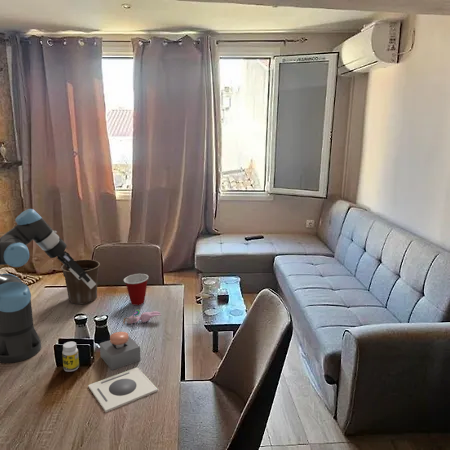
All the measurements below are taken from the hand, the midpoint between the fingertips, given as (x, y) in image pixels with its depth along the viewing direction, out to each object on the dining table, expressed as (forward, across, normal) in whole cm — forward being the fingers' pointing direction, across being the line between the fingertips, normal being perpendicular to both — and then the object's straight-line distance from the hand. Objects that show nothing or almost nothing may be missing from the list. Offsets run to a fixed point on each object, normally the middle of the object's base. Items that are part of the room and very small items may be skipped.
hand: (87, 282), depth 164 cm
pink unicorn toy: (+22, -16, -4) cm, 28 cm away
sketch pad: (+10, -52, +17) cm, 55 cm away
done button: (+10, -36, +10) cm, 39 cm away
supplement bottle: (+4, -32, +24) cm, 40 cm away
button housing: (+12, -36, +12) cm, 40 cm away
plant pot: (+14, +20, +5) cm, 25 cm away
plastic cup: (+25, +2, -9) cm, 27 cm away
